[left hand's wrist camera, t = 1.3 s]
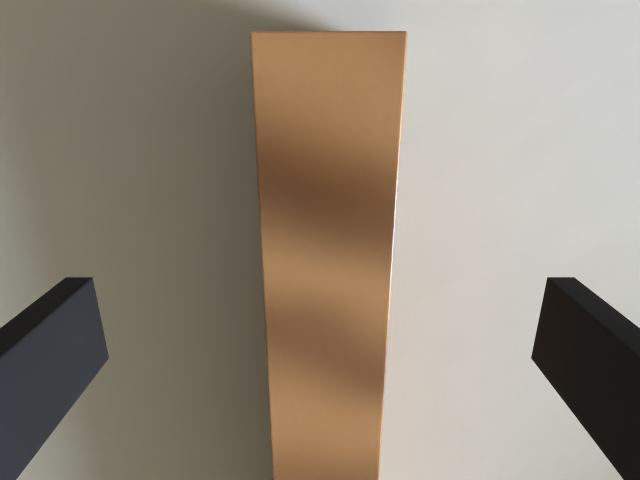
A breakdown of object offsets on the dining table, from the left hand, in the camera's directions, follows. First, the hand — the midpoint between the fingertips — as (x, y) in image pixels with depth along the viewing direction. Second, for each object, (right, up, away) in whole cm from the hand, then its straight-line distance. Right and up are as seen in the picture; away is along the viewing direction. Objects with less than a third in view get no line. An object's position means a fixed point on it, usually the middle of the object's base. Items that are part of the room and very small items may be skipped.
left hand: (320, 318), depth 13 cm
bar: (0, -19, +18) cm, 26 cm away
